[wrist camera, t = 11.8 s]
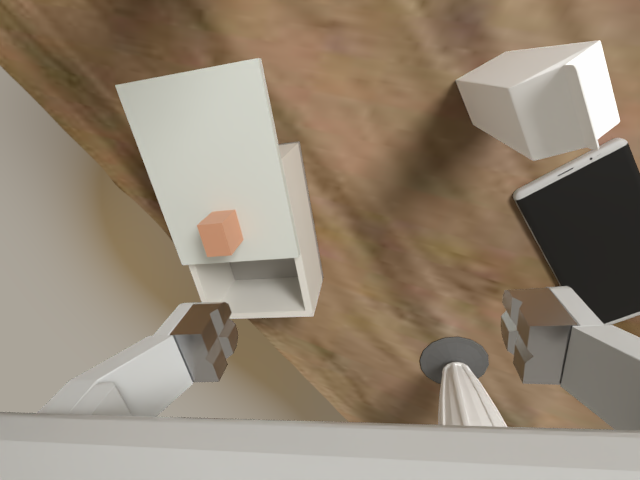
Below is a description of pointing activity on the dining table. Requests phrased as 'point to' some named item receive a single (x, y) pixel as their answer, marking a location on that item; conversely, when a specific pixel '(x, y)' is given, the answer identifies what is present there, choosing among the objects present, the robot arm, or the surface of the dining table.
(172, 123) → the lid
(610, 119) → the milk
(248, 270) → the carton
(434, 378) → the cup
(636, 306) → the smartphone
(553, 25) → the dining table surface
